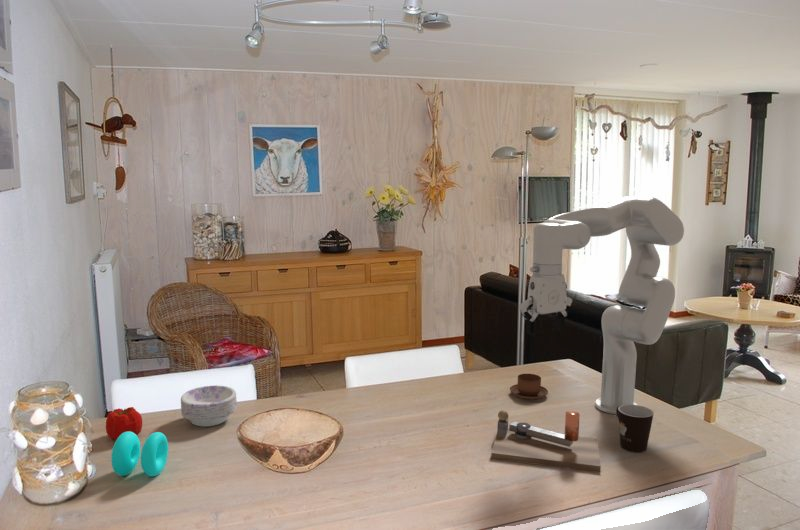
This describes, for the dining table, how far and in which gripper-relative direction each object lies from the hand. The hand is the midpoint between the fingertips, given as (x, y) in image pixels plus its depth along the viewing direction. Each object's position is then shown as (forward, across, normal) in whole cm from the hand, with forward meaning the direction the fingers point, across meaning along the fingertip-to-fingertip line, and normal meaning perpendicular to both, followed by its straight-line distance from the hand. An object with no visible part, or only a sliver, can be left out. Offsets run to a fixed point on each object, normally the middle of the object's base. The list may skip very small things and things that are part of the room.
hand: (545, 332), depth 163 cm
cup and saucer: (+29, +15, +24) cm, 41 cm away
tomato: (+27, -103, +48) cm, 117 cm away
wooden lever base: (+28, -7, -9) cm, 31 cm away
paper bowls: (+27, -81, +49) cm, 98 cm away
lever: (+26, -6, -7) cm, 27 cm away
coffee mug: (+29, +16, -17) cm, 37 cm away
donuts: (+27, -101, +24) cm, 107 cm away
